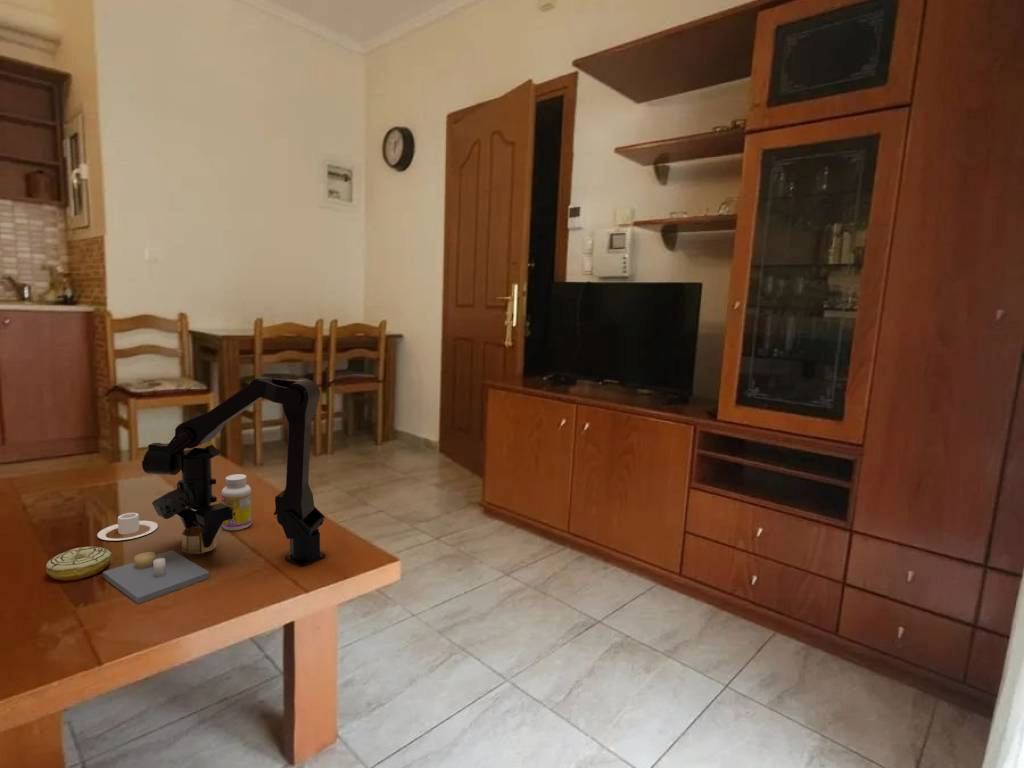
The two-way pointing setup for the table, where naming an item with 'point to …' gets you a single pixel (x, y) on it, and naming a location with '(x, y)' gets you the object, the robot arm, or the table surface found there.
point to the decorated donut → (78, 563)
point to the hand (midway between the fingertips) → (199, 543)
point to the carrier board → (152, 584)
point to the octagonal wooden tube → (195, 541)
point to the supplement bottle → (237, 502)
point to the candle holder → (127, 527)
